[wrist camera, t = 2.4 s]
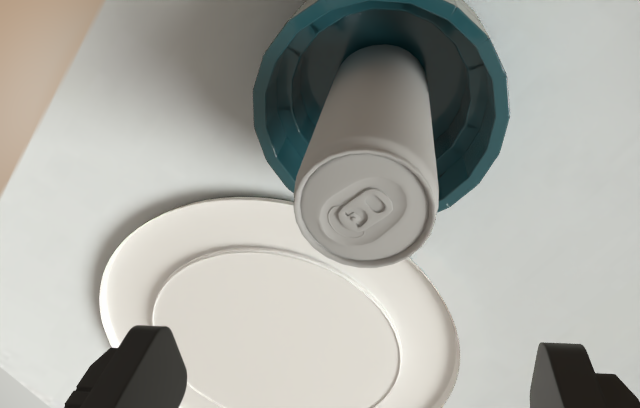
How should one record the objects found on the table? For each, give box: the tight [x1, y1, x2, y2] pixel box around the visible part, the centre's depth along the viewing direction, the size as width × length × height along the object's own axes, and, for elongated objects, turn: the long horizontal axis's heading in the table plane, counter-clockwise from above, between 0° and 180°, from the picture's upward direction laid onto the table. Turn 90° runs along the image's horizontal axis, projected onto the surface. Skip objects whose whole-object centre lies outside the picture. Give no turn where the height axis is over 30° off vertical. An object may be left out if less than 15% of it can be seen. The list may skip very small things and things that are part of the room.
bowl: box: [253, 0, 510, 212], centre depth 23 cm, size 11×11×5 cm
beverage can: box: [293, 44, 439, 268], centre depth 20 cm, size 5×5×12 cm
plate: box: [99, 197, 460, 408], centre depth 38 cm, size 28×28×1 cm
